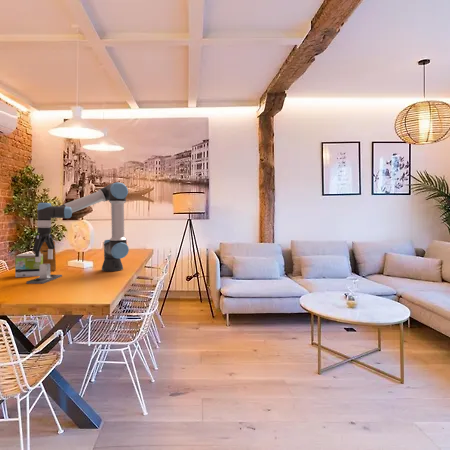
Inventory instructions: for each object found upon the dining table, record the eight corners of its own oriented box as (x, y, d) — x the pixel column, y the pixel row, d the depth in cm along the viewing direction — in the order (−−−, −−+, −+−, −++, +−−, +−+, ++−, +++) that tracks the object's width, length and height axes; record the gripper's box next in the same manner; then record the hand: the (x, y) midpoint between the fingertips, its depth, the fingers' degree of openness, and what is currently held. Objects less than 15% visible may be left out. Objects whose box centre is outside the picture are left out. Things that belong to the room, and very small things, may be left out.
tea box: (15, 277, 210) (14, 255, 209) (18, 275, 219) (18, 253, 219) (41, 276, 215) (40, 254, 215) (43, 273, 225) (43, 252, 224)
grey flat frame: (47, 276, 214) (47, 274, 214) (62, 276, 214) (62, 274, 214) (26, 284, 192) (26, 281, 192) (42, 284, 192) (42, 281, 192)
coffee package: (35, 270, 236) (35, 241, 235) (54, 269, 243) (54, 240, 242) (37, 272, 228) (36, 242, 227) (56, 271, 235) (56, 241, 234)
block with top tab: (41, 279, 205) (41, 263, 205) (52, 279, 205) (52, 263, 204) (37, 280, 200) (37, 264, 200) (48, 280, 200) (48, 264, 200)
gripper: (49, 226, 214) (49, 257, 214) (25, 227, 189) (25, 263, 190) (60, 226, 214) (60, 258, 214) (38, 227, 189) (38, 263, 189)
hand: (44, 260), depth 202 cm, fingers open, 13 cm apart
